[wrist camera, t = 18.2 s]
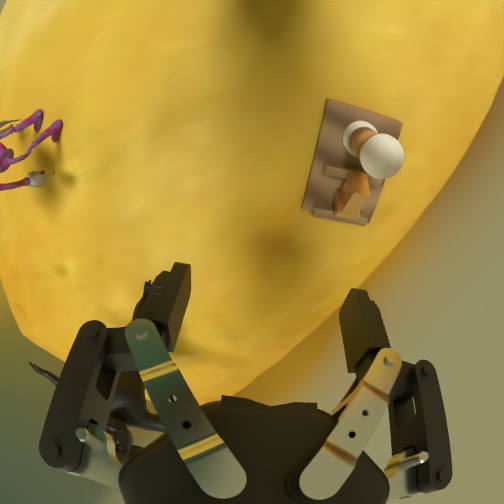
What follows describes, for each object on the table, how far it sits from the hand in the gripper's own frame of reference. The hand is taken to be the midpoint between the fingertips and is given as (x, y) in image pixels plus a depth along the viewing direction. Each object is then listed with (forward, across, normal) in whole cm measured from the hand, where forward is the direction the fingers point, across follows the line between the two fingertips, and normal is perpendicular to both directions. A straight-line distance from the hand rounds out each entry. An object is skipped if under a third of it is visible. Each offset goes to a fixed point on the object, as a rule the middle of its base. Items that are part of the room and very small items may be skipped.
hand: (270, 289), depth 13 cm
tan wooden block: (+27, -13, +7) cm, 31 cm away
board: (+30, -12, +1) cm, 33 cm away
